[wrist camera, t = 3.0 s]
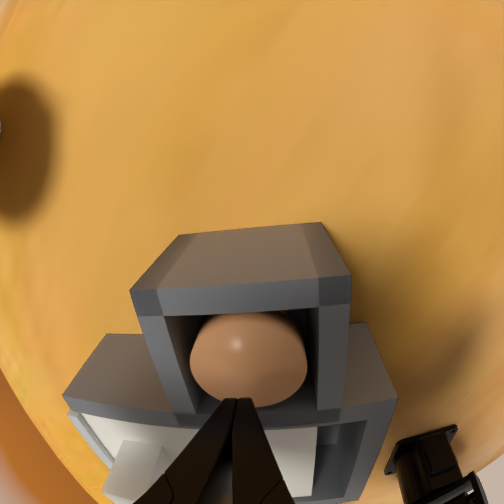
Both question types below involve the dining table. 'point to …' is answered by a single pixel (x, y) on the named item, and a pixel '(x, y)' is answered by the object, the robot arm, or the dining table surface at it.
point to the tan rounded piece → (250, 356)
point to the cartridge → (171, 445)
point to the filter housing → (243, 301)
